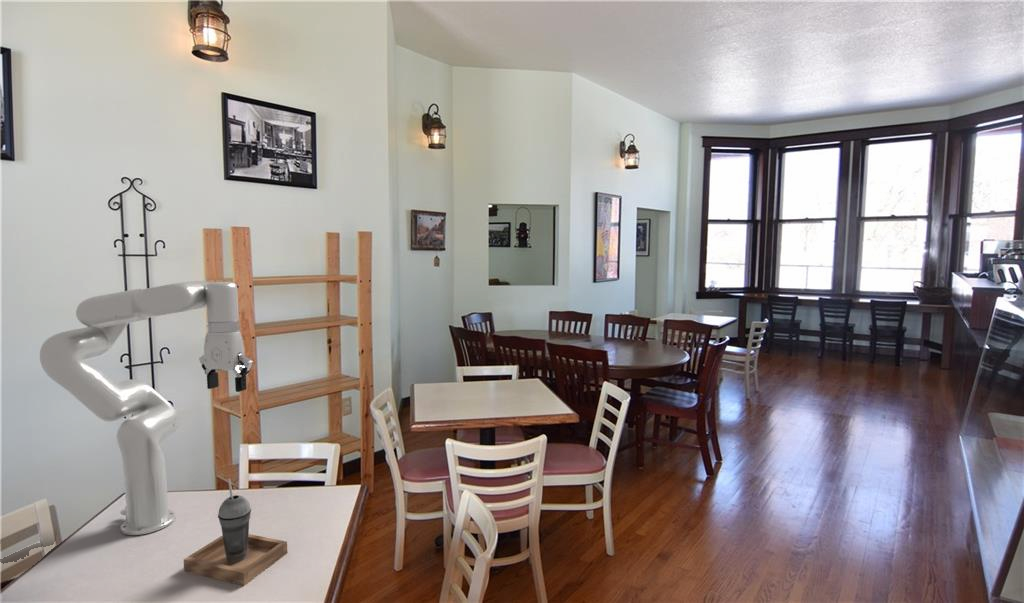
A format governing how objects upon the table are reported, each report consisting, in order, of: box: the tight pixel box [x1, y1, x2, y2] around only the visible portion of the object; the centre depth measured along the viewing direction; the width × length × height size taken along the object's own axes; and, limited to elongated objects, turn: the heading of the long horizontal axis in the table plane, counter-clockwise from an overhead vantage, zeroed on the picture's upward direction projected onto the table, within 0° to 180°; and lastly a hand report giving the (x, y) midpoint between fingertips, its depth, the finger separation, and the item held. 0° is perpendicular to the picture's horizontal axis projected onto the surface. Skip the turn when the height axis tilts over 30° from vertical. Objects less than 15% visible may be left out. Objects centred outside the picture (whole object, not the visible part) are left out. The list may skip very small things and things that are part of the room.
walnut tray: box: [183, 533, 288, 586], centre depth 133 cm, size 18×14×3 cm
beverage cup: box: [217, 478, 252, 563], centre depth 132 cm, size 7×7×20 cm
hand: (227, 389), depth 148 cm, fingers open, 9 cm apart
